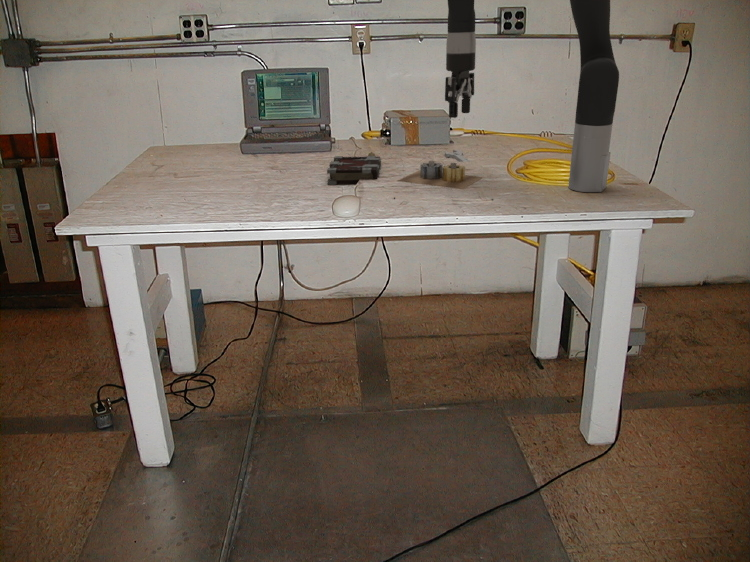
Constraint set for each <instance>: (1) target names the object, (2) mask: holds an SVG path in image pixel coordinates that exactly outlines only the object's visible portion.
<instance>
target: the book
mask: <svg viewBox="0 0 750 562" xmlns="http://www.w3.org/2000/svg"><path fill="white" fill-rule="evenodd" d="M381 169H382V159H381V157H380V156H376V155H375V153H374V152H373V151H370V152H369V153H368V154H367V156H343V155H335V156H334V157H333V160H331V161H330V163H329V167H327V169H326V174H329V178H328V180H327V185H328V186H336V185H357V184H358V183H359V181H360V180H361V179H362V180H363V179H365V180H367V179H369V180H370V179H372V180H378V178H380V177H379V176H380V171H381Z"/></svg>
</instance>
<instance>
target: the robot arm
mask: <svg viewBox="0 0 750 562" xmlns="http://www.w3.org/2000/svg"><path fill="white" fill-rule="evenodd" d="M569 3H570V4H569V5H570V8H571V9H570V10H571V13H572V18H573V22H574V25H575V28H576V32H577V37H578V41H579V50H580V52H579V53H580V55H579V56H580V69H579V70H580V72H579V73H580V74H579V80H578V91H577V99H576V108H575V118H574V120H575V122H574V127H573V128H574V129H573V130H574V131H573V137H572V138H573V139H572V147H571V148H572V149H571V158H570V165H569V166H570V167H569V176H568V177H569V178H568V189H570V190H572V191H576V192H581V193H582V192H583V193H603V191H604V190H605V189H606V188H607V185H608V184H607V183H608V176H609V170H610V169H609V167H610V162H611V161H610V160H611V151H610V147H611V146H610V145H611V138H612V130H613V123H614V117H615V111H616V103H617V96H618V89H619V83H620V82H619V81H620V71H619V68H618V66H617V64H616V59H615V56H614V55H615V54H614V52H613V51H614V50H613V45H612V41H611V33H610V30H611V29H610V25H611V24H610V23H611V0H569ZM447 8H448V10H447V11H448V13H447V34H446V35H447V37H446V43H445V45H446V52H445V53H446V55H445V58H446V62H445V69H446V71H448V72H451V76H446V77H445V84H444V85H445V87H444V101H445V102H447V103H448V117H449V118H452V119H453V118H454V119H456V118H458V116H459V115H458V114H459V111H458V110H459V109H458V108H459V99H460V97H461V98H462V99H461V113H462V114H469V113H470V112H471V99H472V97H473V96H475V72H473V71H474V70H475V69H476V48H477V47H476V45H477V42H476V10H475V0H447ZM470 71H472V72H470Z"/></svg>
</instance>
